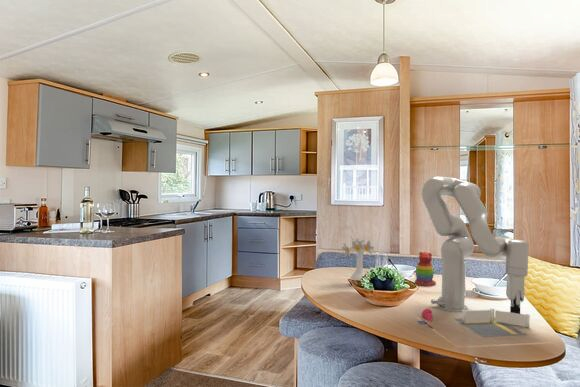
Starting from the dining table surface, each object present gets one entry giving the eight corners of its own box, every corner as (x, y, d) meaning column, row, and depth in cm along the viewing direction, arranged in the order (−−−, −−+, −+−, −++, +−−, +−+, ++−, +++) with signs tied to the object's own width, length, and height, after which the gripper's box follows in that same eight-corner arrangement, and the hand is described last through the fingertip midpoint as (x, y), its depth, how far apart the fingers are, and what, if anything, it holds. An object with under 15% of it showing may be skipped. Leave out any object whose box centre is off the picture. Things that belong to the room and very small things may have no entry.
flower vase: (337, 284, 205) (338, 238, 204) (362, 280, 216) (363, 236, 215) (354, 290, 194) (356, 242, 194) (379, 285, 205) (380, 239, 204)
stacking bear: (436, 283, 212) (437, 252, 212) (432, 287, 204) (433, 254, 203) (416, 280, 218) (417, 249, 217) (412, 284, 210) (413, 252, 209)
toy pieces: (409, 319, 156) (410, 309, 156) (432, 317, 159) (432, 306, 159) (429, 330, 144) (429, 319, 144) (453, 327, 148) (453, 316, 148)
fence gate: (495, 321, 152) (495, 310, 152) (494, 320, 153) (495, 309, 153) (529, 327, 147) (529, 315, 147) (529, 326, 148) (529, 314, 148)
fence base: (482, 338, 137) (483, 323, 137) (454, 320, 155) (454, 306, 155) (551, 335, 142) (551, 320, 141) (515, 318, 159) (516, 304, 159)
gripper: (502, 266, 159) (501, 309, 160) (509, 273, 145) (507, 321, 146) (523, 268, 157) (521, 312, 157) (531, 276, 143) (530, 324, 143)
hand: (515, 316), depth 152 cm, fingers closed
